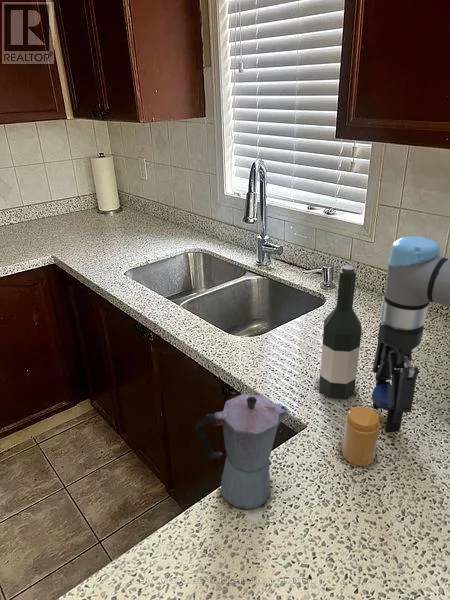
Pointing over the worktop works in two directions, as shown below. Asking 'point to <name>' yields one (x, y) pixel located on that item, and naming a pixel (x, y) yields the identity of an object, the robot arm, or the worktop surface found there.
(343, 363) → the wine bottle
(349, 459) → the jam jar
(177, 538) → the worktop surface
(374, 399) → the jam lid
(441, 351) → the worktop surface
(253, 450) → the moka pot
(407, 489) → the worktop surface
